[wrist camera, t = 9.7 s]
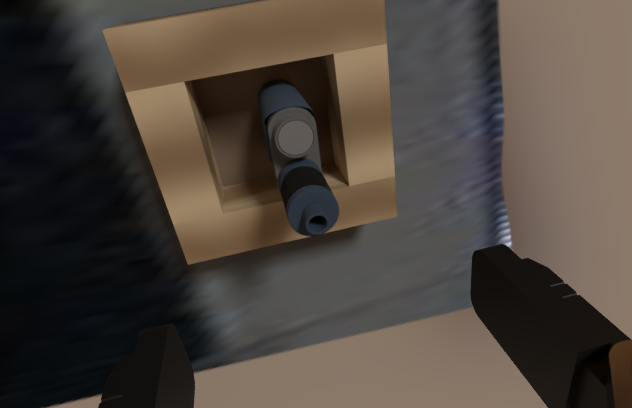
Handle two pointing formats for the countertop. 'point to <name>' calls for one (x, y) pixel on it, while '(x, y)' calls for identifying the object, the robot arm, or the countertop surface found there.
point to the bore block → (258, 113)
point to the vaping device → (296, 158)
